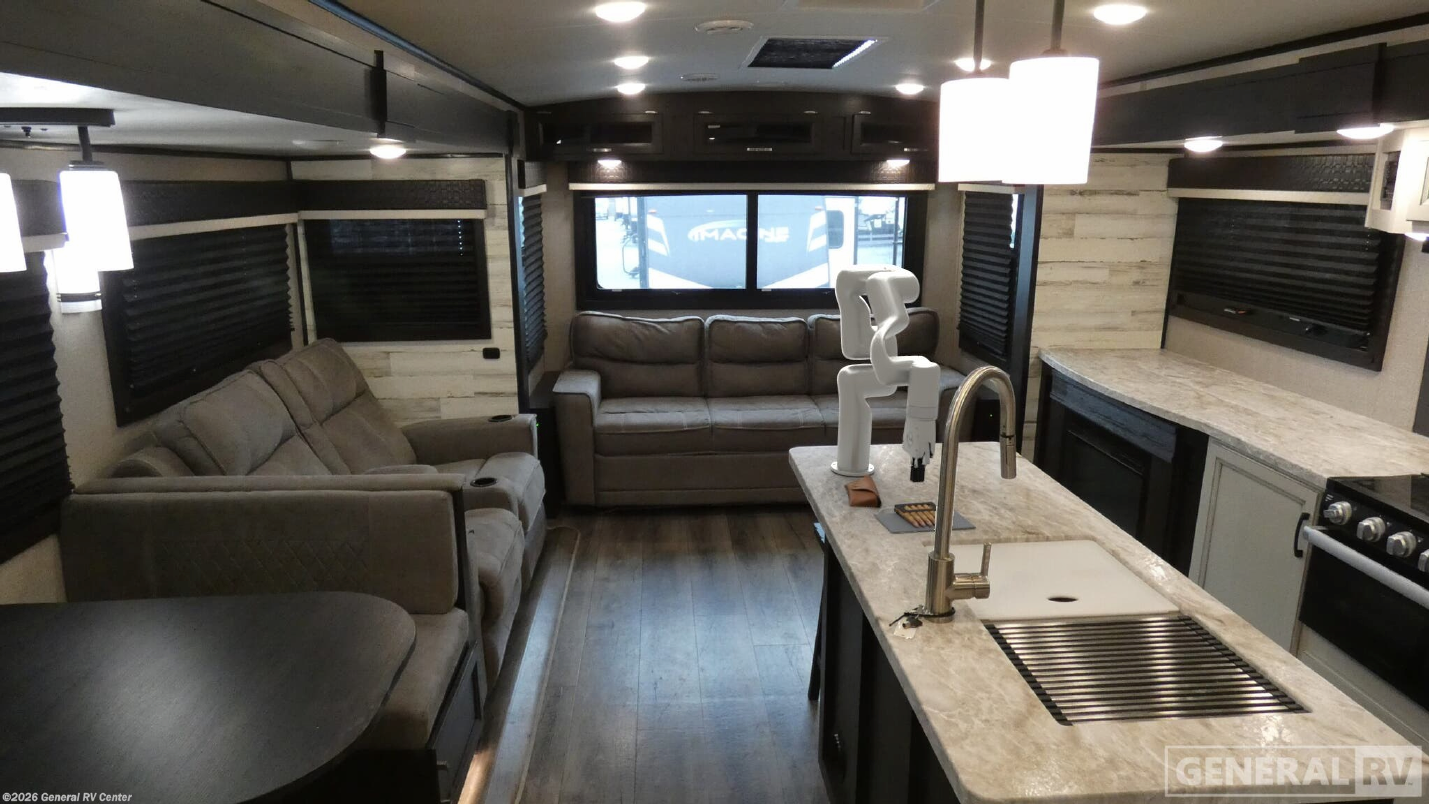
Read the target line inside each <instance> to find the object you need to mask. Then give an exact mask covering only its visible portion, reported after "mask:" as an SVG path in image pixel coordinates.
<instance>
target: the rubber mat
mask: <svg viewBox="0 0 1429 804" xmlns="http://www.w3.org/2000/svg"><path fill="white" fill-rule="evenodd" d="M953 510H954V516H953V526H952V530H951V531H954V530H953V529H959V530H971V529H972V530H973V529H974V530H976V529H977V527H976V526H975V525H974V524H973V523H972V522H971V521H969V520H968V519H967V518H965V517H964V515H962V514H960V513H959V512H958V511H956V509H953ZM873 517H875V518H876V519H877V521H878V522H879V523H880V524H881V525H882V526H883V527H884V528H885V527H886V530H887V529H888V530H887V531H888V532H889V531H890V532H891V533H894V534H901V533H900V532H910V533H915V532H914V531H927V532H935V531H934V529H935V525H934V524H933V523H932V522H931V523H932V526H929V525H927V524H926V523H925V527H924V526H921V525H920V524H918V525H919V527H916V526H914V525H913V524H911V523H909V522H908V521H907V520H906V519H903V518H902V517H901V516H899V515H898V514H897V513H896V512H890V513H889V512H888V513H875V514H873ZM890 532H889V533H890ZM891 533H890V534H891Z"/></svg>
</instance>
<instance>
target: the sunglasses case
mask: <svg viewBox="0 0 1429 804" xmlns="http://www.w3.org/2000/svg"><path fill="white" fill-rule="evenodd" d="M843 487H844V488H845V490H846V493H847V495H848V499H849V507H852V508H871V509H872V508H875V509H876V508H877V509H880V508H881V507H882V504H883V503H882V500H881V496H880V492H879V491H878V488H877V485H876V483H875V481H874V479H873V477H872V476H871V474H870V475H869V474H868V475H866V476H862V478H859V479H857V480H854V481H852V482H848V483H845V484H844V485H843Z"/></svg>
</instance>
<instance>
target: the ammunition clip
mask: <svg viewBox="0 0 1429 804" xmlns="http://www.w3.org/2000/svg"><path fill="white" fill-rule="evenodd" d="M936 506H937V505H936V503H935V502H934V501H921V502H911V503H910V502H909V503H897V504H895V503H894V508H893V512H894V513H897V514H898V515H899V516H901V517H902V518H903V519H906V520H907V521H908V522H909V523H911V524H913V525H914V526H916V527H919V525H918V524H920V525H921V526H924V527H925V523H926V524H927V525H929V526H932V523H933V524H934V525H935V511H936ZM931 522H932V523H931Z"/></svg>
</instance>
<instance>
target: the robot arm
mask: <svg viewBox="0 0 1429 804" xmlns="http://www.w3.org/2000/svg"><path fill="white" fill-rule="evenodd" d="M834 290H835V291H834V292H835V297H836V301H837V303H838V308H839V313H840V338H841V342H840V344H841V350H842V351H841V352H842V354H843V356H844V357H845V358H846V359H849V360H856V361H857V360H860V361H861V360H870V362H871V363H861V364H851V365H846V366H844V367H842V368H841V369H840V370H839V372H838V374H837V377H836V378H837V379H836V381H837V382H836V383H837V391H838V400H839V401H838V403H839V404H838V407H839V409H838V429H837V430H838V431H837V448H836V449H837V450H836V451H837V452H836V461H833V462H832V463H831V465H830V470H831V471H832V472H834V473H836V474H838V475H841V476H846V477H865V476H866V475H868V474H869V475H870V476H871V475H872V474H873V473H874V472H875V466H874V465H873V464H871V463H870V457H871V441H872V425H873V424H872V422H873V412H872V409H871V406H870V405H869V404H868V403H867V401H866V398H875V397H876V398H877V397H887V396H890V395H891V396H892V395H893V394H894V393H895V392H896V391H897V389H898V387H905V386H906V387H907V400H906V401H907V403H906V418H905V421H904V427H903V428H904V429H903V435H902V445H901V446H902V447H901V448H902V449H903V451H904V452H905V453H906V454H908V455H909V457H910V476H909V481H911V482H912V483H924V482H925V478H926V477H925V474H926V468H927V466H928V465H930V463H931V459H933V458H934V456H935V452H936V451H935V450H936V431H937V430H936V420H937V419H938V413H939V412H938V409H939V398H940V397H939V395H940V382H941V372H942V371H941V367H940V365H939V364H937V363H936V362H931V361H930V360H929V359H928V358H927V357H925V356H922V355H919V356H918V355H911V356H908V355H905V356H902V355H901V356H898V343H897V342H898V341H897V337H896V335H897V334H899V333H901V332H902V331H904V330H905V329H907V327H908V325H909V323H910V317H909V314H908V312H907V308H906V306H905V304H909V303H910V304H912V303H914V302H915V301H916V300H917V299H918V298H919V295H920V283H919V280H918V278H917V277H916V275H915V274H914V273H913V272H911V271H909V270H907V269H904V268H902V267H900V266H897V265H893V264H852V265H846V266H844V267H842V268H841V269H839V270H838V271H837V273H836V275H835V279H834ZM862 296H866V297H867V299H868V302H869V305H870V307H869V305H868V303H867V302H866V300H865V299H864V298H863V297H862ZM871 311H872V314H873V317H874V321H875V323H876V325H872V321H871Z"/></svg>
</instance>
